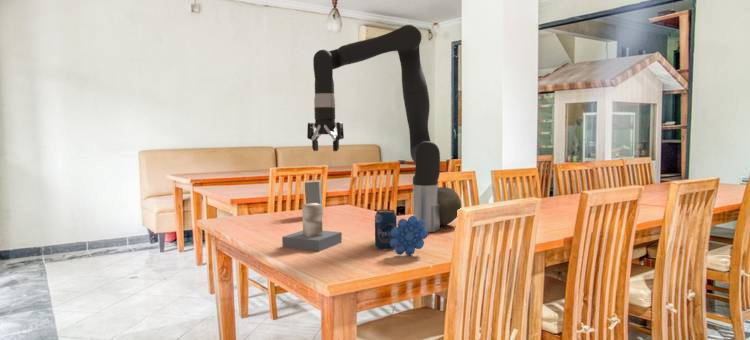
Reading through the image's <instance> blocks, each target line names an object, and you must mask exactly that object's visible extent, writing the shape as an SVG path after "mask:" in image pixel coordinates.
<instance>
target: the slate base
mask: <svg viewBox="0 0 750 340" xmlns="http://www.w3.org/2000/svg"><path fill="white" fill-rule="evenodd" d="M322 232H323V235H317V236H309V237H308V236H306V235H304V234H303V230H299V231H297V232H293V233H290V234H287V235H283V236H282V237H281V239H282V241H281V243H282V248H284V249H294V250H301V251H311V252H312V251H313V252H322V251H324V250H326V249H329V248H331V247H335V246H336V245H339V244H342V243H343V241H342V235H343V233H342V232H341V231H332V230H331V231H330V230H322Z"/></svg>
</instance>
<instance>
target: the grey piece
mask: <svg viewBox="0 0 750 340" xmlns="http://www.w3.org/2000/svg"><path fill="white" fill-rule="evenodd" d="M322 206H323V204H322V205H321V204H318V203H309V204H306V203H302V204H301V208H302V209H301V210H302V214H301V215H302V231H303V234H304V235H306V236H308V237H309V236H317V235H323V232H322V231H323V216H322Z"/></svg>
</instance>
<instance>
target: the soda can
mask: <svg viewBox="0 0 750 340" xmlns="http://www.w3.org/2000/svg"><path fill="white" fill-rule="evenodd" d="M397 218H398V217H397V215H396V213H395V209H387V208H386V209H385V208H384V209H378V210H376V213H375V215H374V245H375V247H376V249H378V250H381V251H390V250H394V249H395V248H393V247H391V246H390V241H391V239H392V238H394V237H392V236H391V230H392V229H393V228H394V227H398V225H397V224H398V222H397Z"/></svg>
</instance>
